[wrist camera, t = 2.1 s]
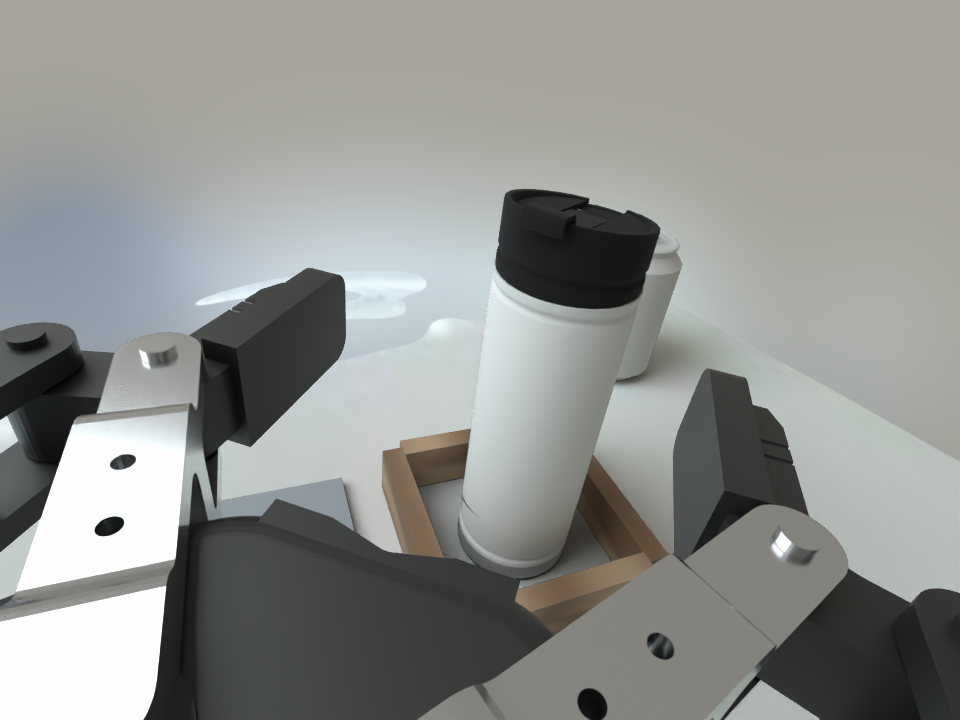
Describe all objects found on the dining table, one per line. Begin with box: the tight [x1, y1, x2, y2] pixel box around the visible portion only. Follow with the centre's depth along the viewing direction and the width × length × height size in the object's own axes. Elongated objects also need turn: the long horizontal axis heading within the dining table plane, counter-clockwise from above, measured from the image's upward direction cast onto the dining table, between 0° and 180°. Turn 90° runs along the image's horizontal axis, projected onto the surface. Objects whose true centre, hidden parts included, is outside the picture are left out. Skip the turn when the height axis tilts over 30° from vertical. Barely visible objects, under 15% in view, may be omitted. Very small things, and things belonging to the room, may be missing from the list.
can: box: [616, 230, 682, 380], centre depth 46 cm, size 8×8×12 cm
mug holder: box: [382, 429, 668, 635], centre depth 31 cm, size 12×12×3 cm
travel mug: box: [458, 189, 660, 578], centre depth 26 cm, size 6×7×20 cm
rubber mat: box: [221, 478, 354, 531], centre depth 26 cm, size 13×13×1 cm
